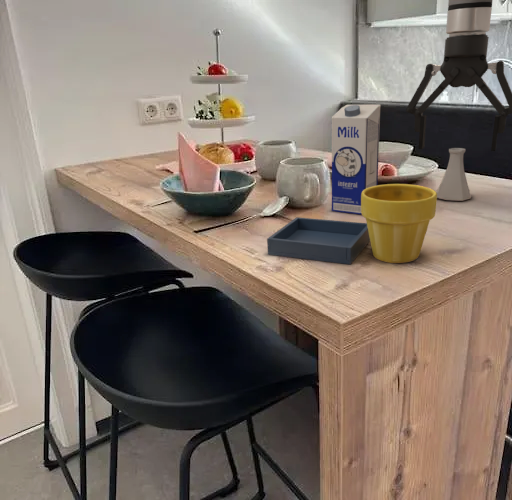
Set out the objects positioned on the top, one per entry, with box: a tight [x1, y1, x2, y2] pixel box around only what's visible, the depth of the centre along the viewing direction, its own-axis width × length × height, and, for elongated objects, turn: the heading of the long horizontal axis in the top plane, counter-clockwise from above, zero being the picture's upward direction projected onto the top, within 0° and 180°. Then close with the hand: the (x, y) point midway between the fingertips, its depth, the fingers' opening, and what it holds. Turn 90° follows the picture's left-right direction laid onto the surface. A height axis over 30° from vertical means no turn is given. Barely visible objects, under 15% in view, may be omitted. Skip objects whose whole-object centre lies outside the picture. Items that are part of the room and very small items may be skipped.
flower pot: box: [361, 183, 438, 264], centre depth 73 cm, size 10×10×10 cm
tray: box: [266, 216, 370, 265], centre depth 79 cm, size 13×12×3 cm
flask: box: [436, 147, 472, 202], centre depth 102 cm, size 7×7×10 cm
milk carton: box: [331, 103, 382, 216], centre depth 96 cm, size 7×7×20 cm
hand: (456, 149), depth 101 cm, fingers open, 13 cm apart
